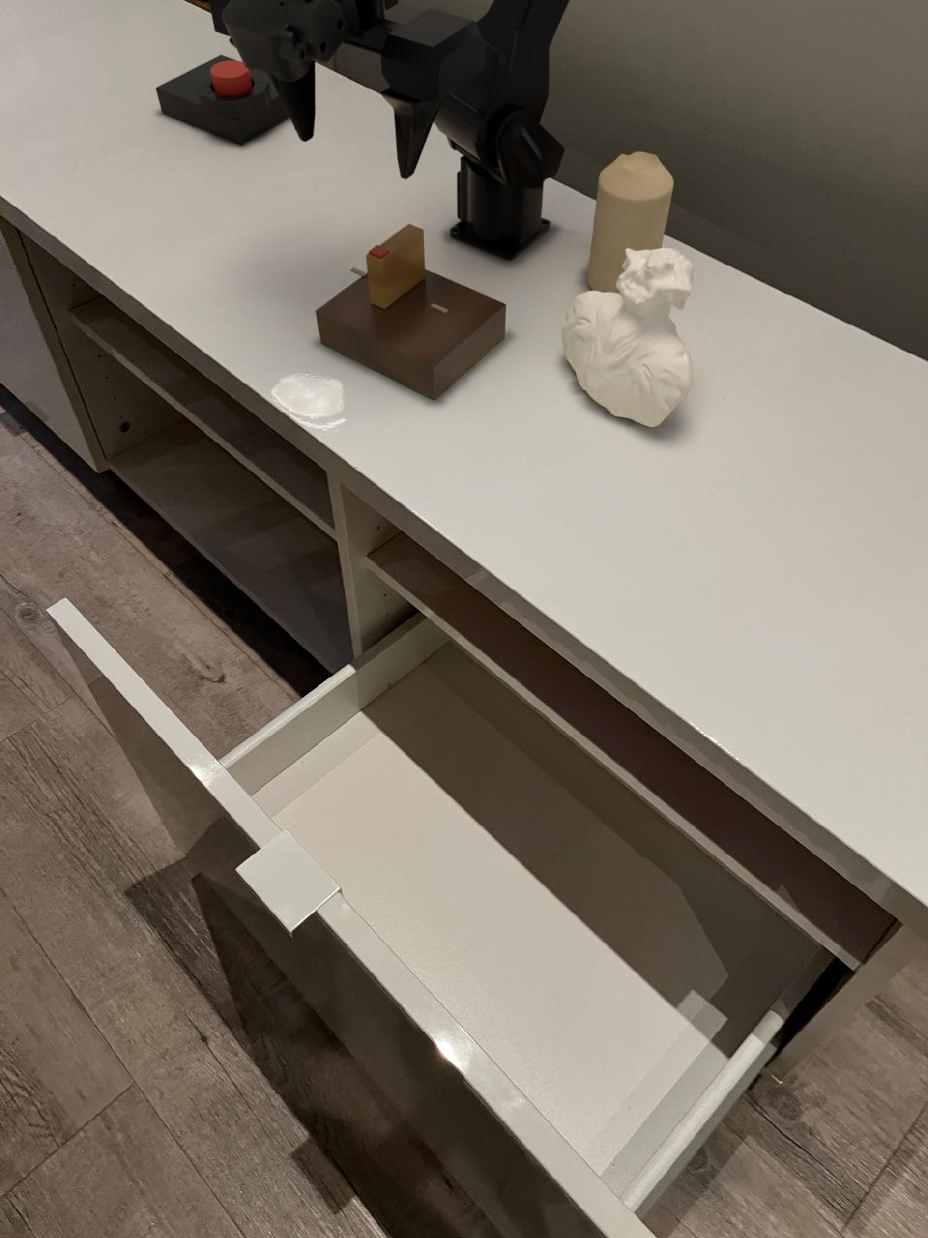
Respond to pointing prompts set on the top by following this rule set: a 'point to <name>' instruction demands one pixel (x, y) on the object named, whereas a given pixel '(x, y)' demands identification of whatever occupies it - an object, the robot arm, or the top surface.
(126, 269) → the top surface
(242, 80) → the button
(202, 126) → the push button box
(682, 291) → the bust
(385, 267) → the thumbturn
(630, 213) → the candle
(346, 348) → the plate
